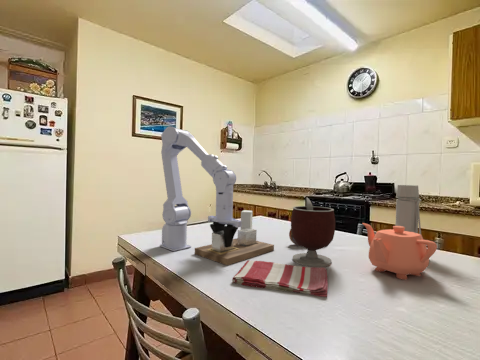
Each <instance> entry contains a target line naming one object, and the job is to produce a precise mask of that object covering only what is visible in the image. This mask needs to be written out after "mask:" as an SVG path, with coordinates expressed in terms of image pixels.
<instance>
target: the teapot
mask: <svg viewBox="0 0 480 360" xmlns="http://www.w3.org/2000/svg"><path fill="white" fill-rule="evenodd" d="M361 225H363V226H364V227H365V228H366V231H367V244H368V245H369V250H368V260H369V261H370V263H371V265H372V266H375V267H374V270H375V271H376V272H381V273H383V272H385V271H387V272H391V273H394V274H396V275H395V276H396V278H397V279H399V280H402V281H403V280H405V281H406V280H408V275H412V276H415V277H421V276H422V274H421V273H423V272H425V270H427V268H428V266H429V265H430V258H431V257H432V256H433V255H434V254H435V253H436V251H437V249H438V245H437V243H436V241H435V242H434V241H432V240H428V239H424V238H423V235H422V233H421V234H419V232H418V233H414V232H408V231H404V229H405V227H403V226H396V225H393V226H392V228H393V229H391V228H390V229H380V230H378V231H376V233H375V231H374V228H373V227H372V225H370V223H369V224H368V223H365V222H362V224H361Z"/></svg>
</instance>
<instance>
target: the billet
mask: <svg viewBox="0 0 480 360" xmlns="http://www.w3.org/2000/svg"><path fill="white" fill-rule="evenodd" d="M211 244H212V250H213V251H216V252H219V253H223V252H226V251H230V250H233V241H232V244H231V247H225V237H224V231H218V232H213V231H212V233H211Z"/></svg>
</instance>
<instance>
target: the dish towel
mask: <svg viewBox="0 0 480 360" xmlns="http://www.w3.org/2000/svg"><path fill="white" fill-rule="evenodd" d="M328 281H329V280H328V272H327V268H326V267H310V266H302V265H301V266H300V265H299V266H298V265H292V264H287V263H286V264H285V263H278V262H273V261H264V260H248V259H246V261H245V263H244V264H243V265H242V266H241V267H240V269H239V271H237V273H236V274H235V275H233V277H232V280H231V283H233V284H238V285H242V286H245V287H250V288H251V287H252V288H258V289H266V290H267V289H269V290H276V291H282V292H289V293H296V294H303V295H304V294H305V295H311V296H314V297H315V296H316V297H323V298H327V296H328V291H329V290H328Z"/></svg>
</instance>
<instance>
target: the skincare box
mask: <svg viewBox="0 0 480 360" xmlns="http://www.w3.org/2000/svg"><path fill="white" fill-rule="evenodd" d="M253 215H254V214H253V210H247V209H244V210H242V211H241V212H240V221H242V227H240V230H242V229H248V228H249V229H253Z"/></svg>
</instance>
